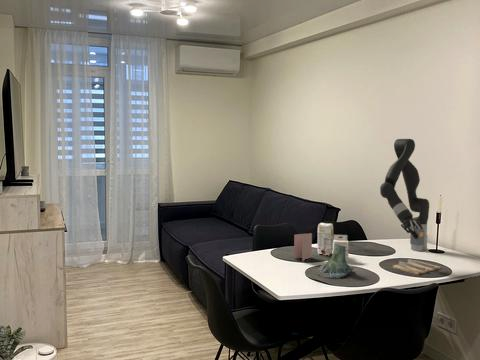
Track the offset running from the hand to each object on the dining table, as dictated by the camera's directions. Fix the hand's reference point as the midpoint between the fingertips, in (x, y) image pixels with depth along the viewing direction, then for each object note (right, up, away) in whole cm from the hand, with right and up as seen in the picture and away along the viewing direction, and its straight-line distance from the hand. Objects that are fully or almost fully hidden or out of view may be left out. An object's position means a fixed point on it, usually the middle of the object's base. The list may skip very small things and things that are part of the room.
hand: (420, 237), depth 253 cm
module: (-1, -4, +2) cm, 5 cm away
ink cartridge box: (-39, -16, +20) cm, 47 cm away
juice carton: (-46, -15, +33) cm, 59 cm away
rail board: (-1, -17, +3) cm, 18 cm away
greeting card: (-60, -16, +20) cm, 66 cm away
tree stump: (-48, -19, -5) cm, 52 cm away
